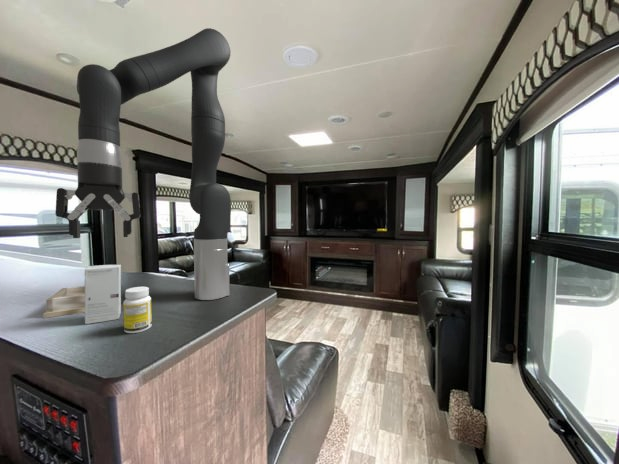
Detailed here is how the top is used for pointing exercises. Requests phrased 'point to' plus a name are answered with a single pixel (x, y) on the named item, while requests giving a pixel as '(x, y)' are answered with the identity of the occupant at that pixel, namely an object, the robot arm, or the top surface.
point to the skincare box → (102, 293)
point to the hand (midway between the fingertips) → (102, 237)
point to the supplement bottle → (137, 310)
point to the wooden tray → (66, 302)
